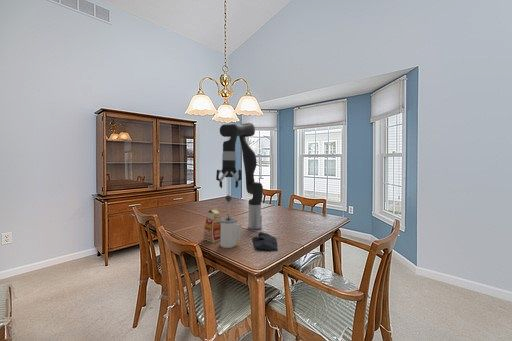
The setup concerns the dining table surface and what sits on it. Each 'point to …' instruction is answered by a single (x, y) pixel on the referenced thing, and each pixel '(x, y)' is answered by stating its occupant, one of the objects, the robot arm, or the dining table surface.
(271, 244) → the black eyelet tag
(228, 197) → the plunger
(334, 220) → the dining table surface
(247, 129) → the robot arm
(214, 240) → the milk carton
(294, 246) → the dining table surface
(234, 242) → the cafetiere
